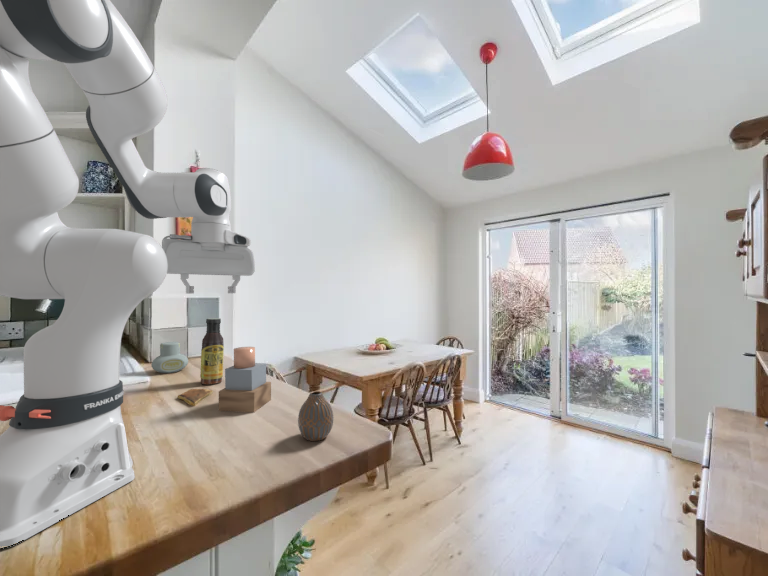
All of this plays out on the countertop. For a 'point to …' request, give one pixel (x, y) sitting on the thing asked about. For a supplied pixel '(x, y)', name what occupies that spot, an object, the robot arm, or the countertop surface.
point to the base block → (244, 399)
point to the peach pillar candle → (244, 357)
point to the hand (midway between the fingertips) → (211, 293)
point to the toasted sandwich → (195, 396)
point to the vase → (315, 417)
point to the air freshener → (169, 358)
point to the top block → (245, 377)
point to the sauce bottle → (212, 353)
